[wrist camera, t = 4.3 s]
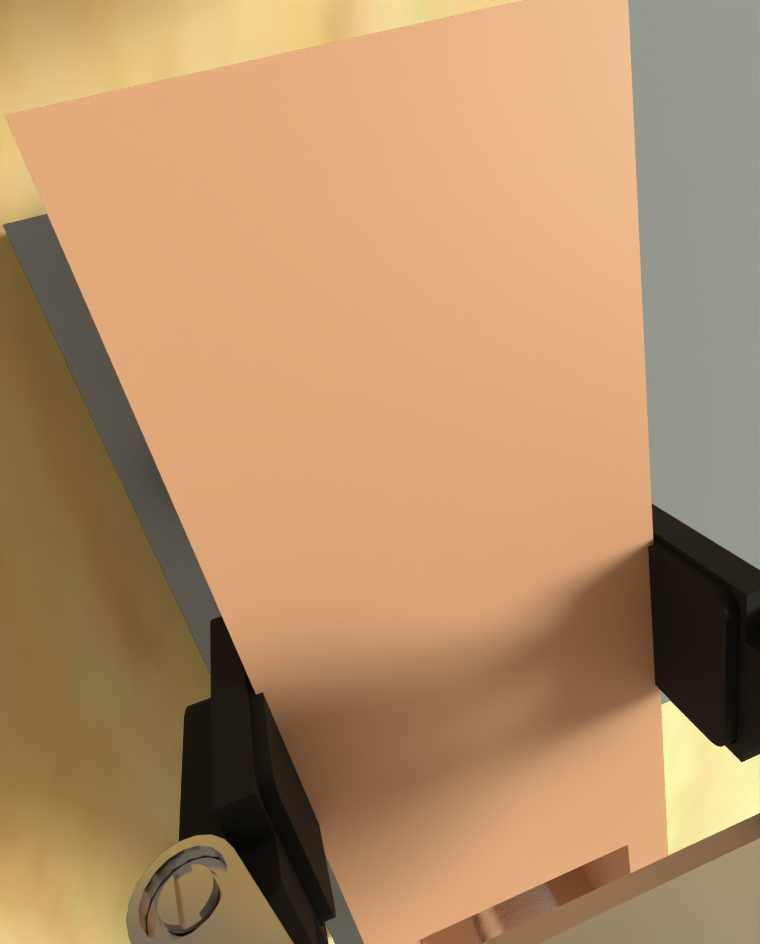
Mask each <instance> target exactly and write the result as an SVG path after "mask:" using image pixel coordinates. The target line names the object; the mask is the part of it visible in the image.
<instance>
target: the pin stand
mask: <svg viewBox="0 0 760 944" xmlns="http://www.w3.org/2000/svg"><path fill="white" fill-rule="evenodd" d="M3 227H4V229H5V231H6V233H7V235H8V237H9V240H10V242H11V244H12V246H13V248H14V250H15V253H16V255H17V257H18V259H19V261H20V263H21V266H22V268H23V270H24V272H25V274H26V276H27V278H28V281H29V283H30V285H31V287H32V289H33V291H34V294H35V296H36V298H37V300H38V302H39V304H40V307H41V309H42V311H43V313H44V315H45V317H46V320H47V322H48V324H49V326H50V328H51V330H52V333H53V335H54V337H55V339H56V341H57V343H58V346H59V348H60V350H61V352H62V354H63V356H64V358H65V361H66V363H67V365H68V367H69V369H70V371H71V374H72V376H73V378H74V380H75V382H76V384H77V387H78V389H79V391H80V393H81V395H82V397H83V400H84V402H85V404H86V406H87V408H88V410H89V413H90V415H91V417H92V419H93V421H94V423H95V425H96V428H97V430H98V432H99V434H100V436H101V438H102V441H103V443H104V445H105V447H106V449H107V451H108V454H109V456H110V458H111V460H112V462H113V464H114V467H115V469H116V471H117V473H118V475H119V477H120V480H121V482H122V484H123V486H124V488H125V490H126V493H127V495H128V497H129V499H130V501H131V503H132V505H133V508H134V510H135V512H136V514H137V516H138V518H139V521H140V523H141V525H142V527H143V529H144V531H145V534H146V536H147V538H148V540H149V542H150V544H151V547H152V549H153V551H154V553H155V555H156V557H157V560H158V562H159V564H160V566H161V568H162V570H163V573H164V575H165V577H166V579H167V581H168V583H169V585H170V588H171V590H172V592H173V594H174V596H175V598H176V601H177V603H178V605H179V607H180V609H181V611H182V614H183V616H184V618H185V620H186V622H187V624H188V627H189V629H190V631H191V633H192V635H193V637H194V640H195V642H196V644H197V646H198V648H199V650H200V653H201V655H202V657H203V659H204V661H205V663H206V665H207V668H208V670H209V672H210V674H211V657H210V621H211V620H212V619H214V618H217V617H220V616H222V615H221V613H220V611H219V608H218V606H217V604H216V601H215V599H214V597H213V594H212V592H211V590H210V588H209V585H208V583H207V581H206V578H205V576H204V574H203V571H202V569H201V567H200V565H199V562H198V560H197V558H196V555H195V553H194V551H193V548H192V546H191V544H190V541H189V539H188V537H187V535H186V532H185V530H184V528H183V525H182V523H181V521H180V518H179V516H178V514H177V512H176V509H175V507H174V505H173V502H172V500H171V498H170V495H169V493H168V491H167V489H166V486H165V484H164V482H163V479H162V477H161V475H160V472H159V470H158V468H157V466H156V463H155V461H154V459H153V456H152V454H151V452H150V449H149V447H148V445H147V442H146V440H145V438H144V436H143V433H142V431H141V429H140V426H139V424H138V422H137V419H136V417H135V415H134V413H133V410H132V408H131V406H130V403H129V401H128V399H127V396H126V394H125V392H124V390H123V387H122V385H121V383H120V380H119V378H118V376H117V373H116V371H115V369H114V366H113V364H112V362H111V360H110V357H109V355H108V353H107V350H106V348H105V346H104V343H103V341H102V339H101V337H100V334H99V332H98V330H97V327H96V325H95V323H94V320H93V318H92V316H91V314H90V311H89V309H88V307H87V304H86V302H85V300H84V297H83V295H82V293H81V291H80V288H79V286H78V284H77V281H76V279H75V277H74V274H73V272H72V270H71V267H70V265H69V263H68V261H67V258H66V256H65V254H64V251H63V249H62V247H61V244H60V242H59V240H58V238H57V235H56V233H55V231H54V228H53V226H52V224H51V221H50V219H49V217H48V215H47V214H45V215H41V216H37V217H33V218H28V219H24V220H20V221H16V222H12V223H8V224H4V225H3ZM325 857H326V855H325ZM326 862H327V867H328V872H329V878H330V883H331V888H332V893H333V899H334V904H335V910H336V917H335V918H333V919H330V920H328V921H326V922H325V923H326V925H327V927H328V929H329V931H330V934H331V936H332V938H333V940H334V942H335V944H364V942H363V940H362V938H361V935H360V933H359V931H358V928H357V926H356V924H355V921H354V919H353V917H352V914H351V912H350V910H349V908H348V905H347V903H346V901H345V898H344V896H343V894H342V891H341V889H340V887H339V885H338V882H337V880H336V878H335V875H334V873H333V871H332V868H331V866H330V864H329V862H328V859H327V857H326ZM558 907H559V906H558V904H557V903H556V901H555V899H554V897H553V895H552V893H551V891H550V889H549V887H548V886H547V884H546V882H545V883H543V884H541V885H538V886H536V887H534V888H532V889H530V890H527V891H525V892H523V893H521V894H519V895H517V896H514V897H512V898H510V899H508V900H506V901H503V902H501V903H499V904H497V905H495V906H492V907H490V908H488V909H486V910H484V911H482V912H479V913H477V914H475V915H473V916H471V917H468V918H469V921H470V923H471V926H472V928H473V931H474V933H475V936H476V939H477V941H478V944H481V943H483V942H486V941H488V940H490V939H492V938H494V937H496V936H498V935H500V934H503V933H505V932H507V931H509V930H511V929H513V928H515V927H517V926H519V925H522V924H524V923H526V922H528V921H530V920H532V919H534V918H536V917H538V916H541V915H543V914H545V913H547V912H549V911H551V910H553V909H555V908H558Z"/></svg>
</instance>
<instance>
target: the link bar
mask: <svg viewBox="0 0 760 944" xmlns="http://www.w3.org/2000/svg"><path fill="white" fill-rule="evenodd" d="M4 116H5V118H6V120H7V122H8V125H9V127H10V129H11V132H12V134H13V136H14V139H15V141H16V143H17V145H18V148H19V150H20V152H21V155H22V157H23V159H24V162H25V164H26V166H27V168H28V171H29V173H30V175H31V178H32V180H33V182H34V185H35V187H36V189H37V192H38V194H39V196H40V198H41V201H42V203H43V205H44V208H45V210H46V212H47V215H48V217H49V219H50V221H51V224H52V226H53V228H54V231H55V233H56V235H57V238H58V240H59V242H60V244H61V247H62V249H63V251H64V254H65V256H66V258H67V261H68V263H69V265H70V267H71V270H72V272H73V274H74V277H75V279H76V281H77V284H78V286H79V288H80V291H81V293H82V295H83V297H84V300H85V302H86V304H87V307H88V309H89V311H90V314H91V316H92V318H93V320H94V323H95V325H96V327H97V330H98V332H99V334H100V337H101V339H102V341H103V343H104V346H105V348H106V350H107V353H108V355H109V357H110V360H111V362H112V364H113V366H114V369H115V371H116V373H117V376H118V378H119V380H120V383H121V385H122V387H123V390H124V392H125V394H126V396H127V399H128V401H129V403H130V406H131V408H132V410H133V413H134V415H135V417H136V419H137V422H138V424H139V426H140V429H141V431H142V433H143V436H144V438H145V440H146V442H147V445H148V447H149V449H150V452H151V454H152V456H153V459H154V461H155V463H156V466H157V468H158V470H159V472H160V475H161V477H162V479H163V482H164V484H165V486H166V489H167V491H168V493H169V495H170V498H171V500H172V502H173V505H174V507H175V509H176V512H177V514H178V516H179V518H180V521H181V523H182V525H183V528H184V530H185V532H186V535H187V537H188V539H189V541H190V544H191V546H192V548H193V551H194V553H195V555H196V558H197V560H198V562H199V565H200V567H201V569H202V571H203V574H204V576H205V578H206V581H207V583H208V585H209V588H210V590H211V592H212V594H213V597H214V599H215V601H216V604H217V606H218V608H219V611H220V613H221V615H222V617H223V620H224V622H225V624H226V627H227V629H228V631H229V634H230V636H231V638H232V640H233V643H234V645H235V647H236V650H237V652H238V654H239V657H240V659H241V661H242V664H243V666H244V668H245V670H246V673H247V675H248V677H249V680H250V682H251V684H252V687H253V689H254V691H255V693H256V695H257V694H259V693H262V692H263V694H264V696H265V699H266V701H267V703H268V706H269V708H270V710H271V713H272V715H273V717H274V720H275V722H276V724H277V727H278V729H279V731H280V734H281V736H282V738H283V741H284V743H285V745H286V748H287V750H288V752H289V755H290V757H291V759H292V762H293V764H294V767H295V769H296V771H297V774H298V776H299V778H300V781H301V783H302V785H303V788H304V790H305V792H306V795H307V797H308V799H309V802H310V804H311V806H312V809H313V811H314V813H315V816H316V818H317V820H318V823H319V825H320V831H321V836H322V841H323V846H324V852H325V855H326V857H327V859H328V862H329V864H330V866H331V868H332V871H333V873H334V875H335V878H336V880H337V882H338V885H339V887H340V889H341V891H342V894H343V896H344V898H345V901H346V903H347V905H348V908H349V910H350V912H351V914H352V917H353V919H354V921H355V924H356V926H357V928H358V931H359V933H360V935H361V938H362V940H363V942H364V944H478V941H477V939H476V936H475V933H474V931H473V928H472V926H471V923H470V921H469V918H468V917H471V916H473V915H475V914H477V913H479V912H482V911H484V910H486V909H488V908H490V907H492V906H495V905H497V904H499V903H501V902H503V901H506V900H508V899H510V898H512V897H514V896H517V895H519V894H521V893H523V892H525V891H527V890H530V889H532V888H534V887H536V886H538V885H541V884H543V883H545V882H546V884H547V886H548V887H549V889H550V891H551V893H552V895H553V897H554V899H555V901H556V903H557V904H558V906H559V907H560V906H562V905H564V904H566V903H568V902H570V901H572V900H574V899H577V898H579V897H581V896H583V895H585V894H587V893H589V892H592V891H594V890H596V889H598V888H600V887H602V886H604V885H607V884H609V883H611V882H613V881H615V880H617V879H619V878H622V877H624V876H626V875H628V874H630V873H632V872H634V871H637V870H639V869H641V868H643V867H645V866H647V865H649V864H652V863H654V862H656V861H658V860H660V859H662V858H664V857H667V856H668V844H667V822H666V801H665V780H664V758H663V737H662V715H661V694H660V689H659V688H658V687H657V686H656V685H655V672H654V652H653V633H652V613H651V594H650V574H649V555H648V546H651V545H653V522H652V501H651V479H650V458H649V436H648V415H647V393H646V372H645V350H644V329H643V308H642V286H641V265H640V243H639V222H638V200H637V179H636V157H635V136H634V114H633V93H632V72H631V50H630V29H629V7H628V0H523V1H518V2H514V3H509V4H505V5H500V6H496V7H491V8H487V9H482V10H478V11H473V12H469V13H464V14H460V15H455V16H451V17H446V18H442V19H437V20H433V21H428V22H423V23H419V24H414V25H410V26H405V27H401V28H396V29H392V30H387V31H383V32H378V33H374V34H369V35H365V36H360V37H356V38H351V39H347V40H342V41H338V42H333V43H329V44H324V45H320V46H315V47H311V48H306V49H302V50H297V51H293V52H288V53H284V54H279V55H275V56H270V57H265V58H261V59H256V60H252V61H247V62H243V63H238V64H234V65H229V66H225V67H220V68H216V69H211V70H207V71H202V72H198V73H193V74H189V75H184V76H180V77H175V78H171V79H166V80H162V81H157V82H153V83H148V84H144V85H139V86H135V87H130V88H126V89H121V90H117V91H112V92H107V93H103V94H98V95H94V96H89V97H85V98H80V99H76V100H71V101H67V102H62V103H58V104H53V105H49V106H44V107H40V108H35V109H31V110H26V111H22V112H17V113H13V114H8V115H4Z"/></svg>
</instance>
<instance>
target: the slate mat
mask: <svg viewBox="0 0 760 944" xmlns="http://www.w3.org/2000/svg"><path fill="white" fill-rule="evenodd" d="M628 7H629V29H630V50H631V72H632V93H633V114H634V136H635V157H636V179H637V200H638V222H639V243H640V265H641V286H642V308H643V329H644V350H645V372H646V393H647V415H648V436H649V458H650V479H651V501H652V504H654V505H655V506H657V507H658V508H660V509H662V510H663V511H665V512H667V513H668V514H670V515H671V516H673V517H675V518H676V519H678V520H679V521H681V522H683V523H684V524H686V525H688V526H689V527H691V528H692V529H694V530H696V531H697V532H699V533H701V534H702V535H704V536H705V537H707V538H709V539H710V540H712V541H714V542H715V543H717V544H718V545H720V546H722V547H723V548H725V549H727V550H728V551H730V552H731V553H733V554H735V555H736V556H738V557H740V558H741V559H743V560H744V561H746V562H748V563H749V564H751V565H753V566H754V567H756V568H757V569H759V570H760V0H628ZM660 694H661V704H663V703H665V702H668V701H670V699H669V698H668V697H667V696H666V695H665V694H664V693H663V692H662V691H661V690H660Z"/></svg>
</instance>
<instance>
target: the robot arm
mask: <svg viewBox="0 0 760 944" xmlns="http://www.w3.org/2000/svg"><path fill="white" fill-rule="evenodd" d="M652 522H653V545H651V546H648V555H649V574H650V594H651V613H652V633H653V652H654V672H655V685H656V686H657V687H658V688H659V689H660V690H661V691H662V692H663V693H664V694H665V695H666V696H667V697H668V698H669V699H670V701H671V702H672V703H673V704H674V705H675V706H676V707H677V708H678V709H679V710H680V711H681V712H682V713H683V714H684V715H685V716H686V717H687V718H688V719H689V720H690V721H691V722H692V723H693V724H694V725H695V726H696V727H697V728H698V729H699V730H700V731H701V732H702V733H703V734H704V735H705V736H706V737H707V738H708V739H709V740H710V741H711V742H712V743H713V744H715V745H717V746H720V747H722V746H724V745H725V746H726V747H727V748H728V749H729V750H730V751H731V752H732V753H733V754H734V755H735V756H736V757H737V758H738V759H739V760H740V761H741V762H743V761H745V760H748V759H750V758H752V757H754V756H757V755H759V754H760V570H759V569H757V568H756V567H754V566H753V565H751V564H749V563H748V562H746V561H744V560H743V559H741V558H740V557H738V556H736V555H735V554H733V553H731V552H730V551H728V550H727V549H725V548H723V547H722V546H720V545H718V544H717V543H715V542H714V541H712V540H710V539H709V538H707V537H705V536H704V535H702V534H701V533H699V532H697V531H696V530H694V529H692V528H691V527H689V526H688V525H686V524H684V523H683V522H681V521H679V520H678V519H676V518H675V517H673V516H671V515H670V514H668V513H667V512H665V511H663V510H662V509H660V508H658V507H657V506H655V505H654V504H652ZM210 657H211V698H209V699H206V700H204V701H201V702H198V703H196V704H193V705H190V706H188V707H187V708H186V710H185V716H184V735H183V758H182V781H181V803H180V826H179V842H178V843H177V844H175V845H173V846H172V847H170V848H169V849H167V850H166V851H164V852H163V853H162V854H161V855H160V856H159V857H158V858H157V859H156V860H155V861H154V862H153V863H152V864H151V865H150V866H149V867H148V868H147V870H146V871H145V873H144V874H143V876H142V877H141V878H140V880H139V881H138V883H137V885H136V887H135V890H134V892H133V894H132V896H131V899H130V901H129V906H128V912H127V918H126V923H127V929H128V936H129V939H130V942H131V944H328V938H327V932H326V927H325V922H326V921H328V920H330V919H333V918H335V917H336V910H335V904H334V899H333V893H332V888H331V883H330V878H329V872H328V867H327V862H326V857H325V852H324V846H323V841H322V836H321V831H320V825H319V823H318V820H317V818H316V816H315V813H314V811H313V809H312V806H311V804H310V802H309V799H308V797H307V795H306V792H305V790H304V788H303V785H302V783H301V781H300V778H299V776H298V774H297V771H296V769H295V767H294V764H293V762H292V759H291V757H290V755H289V752H288V750H287V748H286V745H285V743H284V741H283V738H282V736H281V734H280V731H279V729H278V727H277V724H276V722H275V720H274V717H273V715H272V713H271V710H270V708H269V706H268V703H267V701H266V699H265V696H264V694H263V692H262V693H259V694H257V695H256V693H255V691H254V689H253V687H252V684H251V682H250V680H249V677H248V675H247V673H246V670H245V668H244V666H243V664H242V661H241V659H240V657H239V654H238V652H237V650H236V647H235V645H234V643H233V640H232V638H231V636H230V634H229V631H228V629H227V627H226V624H225V622H224V620H223V617H222V616H220V617H217V618H214V619H212V620H211V621H210ZM481 944H760V813H759V814H757V815H755V816H753V817H751V818H748V819H746V820H744V821H742V822H740V823H738V824H735V825H733V826H731V827H729V828H727V829H725V830H723V831H720V832H718V833H716V834H714V835H712V836H710V837H707V838H705V839H703V840H701V841H699V842H697V843H695V844H692V845H690V846H688V847H686V848H684V849H682V850H679V851H677V852H675V853H673V854H671V855H669V856H667V857H664V858H662V859H660V860H658V861H656V862H654V863H652V864H649V865H647V866H645V867H643V868H641V869H639V870H637V871H634V872H632V873H630V874H628V875H626V876H624V877H622V878H619V879H617V880H615V881H613V882H611V883H609V884H607V885H604V886H602V887H600V888H598V889H596V890H594V891H592V892H589V893H587V894H585V895H583V896H581V897H579V898H577V899H574V900H572V901H570V902H568V903H566V904H564V905H562V906H560V907H558V908H555V909H553V910H551V911H549V912H547V913H545V914H543V915H541V916H538V917H536V918H534V919H532V920H530V921H528V922H526V923H524V924H522V925H519V926H517V927H515V928H513V929H511V930H509V931H507V932H505V933H503V934H500V935H498V936H496V937H494V938H492V939H490V940H488V941H486V942H483V943H481Z"/></svg>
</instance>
